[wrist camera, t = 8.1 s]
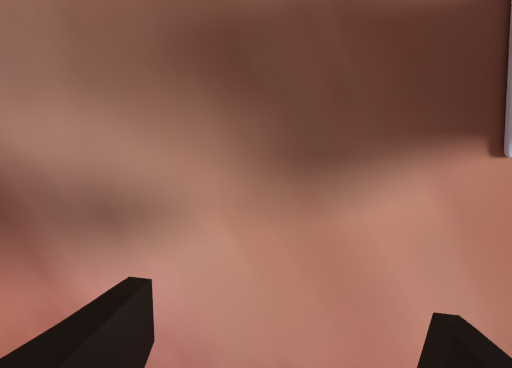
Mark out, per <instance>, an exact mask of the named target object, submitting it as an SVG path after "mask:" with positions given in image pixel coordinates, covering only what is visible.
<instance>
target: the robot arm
mask: <svg viewBox="0 0 512 368" xmlns="http://www.w3.org/2000/svg"><path fill="white" fill-rule="evenodd" d="M504 153H505V155H506V156H507V157H509V158H511V159H512V0H511V20H510V39H509V59H508V79H507V99H506V119H505V139H504ZM153 343H154V321H153V298H152V279H145V278H136V277H128V278H126V279H125V280H123V281H122V282H120V283H119V284H117V285H116V286H114V287H112V288H111V289H110V290H108V291H107V292H105V293H104V294H102V295H101V296H99V297H98V298H96V299H95V300H93V301H92V302H90V303H89V304H87V305H86V306H84V307H83V308H81V309H80V310H78V311H77V312H75V313H74V314H72V315H70V316H69V317H67V318H66V319H64V320H63V321H61V322H60V323H58V324H57V325H55V326H54V327H52V328H50V329H49V330H47V331H45V332H44V333H42V334H40V335H39V336H37V337H35V338H34V339H32V340H31V341H29V342H27V343H26V344H24V345H22V346H21V347H19V348H17V349H16V350H14V351H12V352H11V353H9V354H7V355H6V356H4V357H2V358H0V368H144V367H145V365H146V362H147V359H148V357H149V354H150V351H151V349H152V346H153ZM417 368H512V358H511V357H509V356H508V355H507V354H506V353H505V352H503V351H502V350H501V349H500V348H499V347H498V346H496V345H495V344H494V343H493V342H492V341H490V340H489V339H488V338H487V337H485V336H484V335H483V334H482V333H481V332H479V331H478V330H477V329H476V328H474V327H473V326H472V325H471V324H469V323H468V322H467V321H466V320H464V319H463V318H462V317H460V316H459V315H450V314H442V313H433V315H432V319H431V322H430V326H429V329H428V332H427V336H426V339H425V343H424V346H423V349H422V353H421V356H420V359H419V363H418V366H417Z"/></svg>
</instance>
